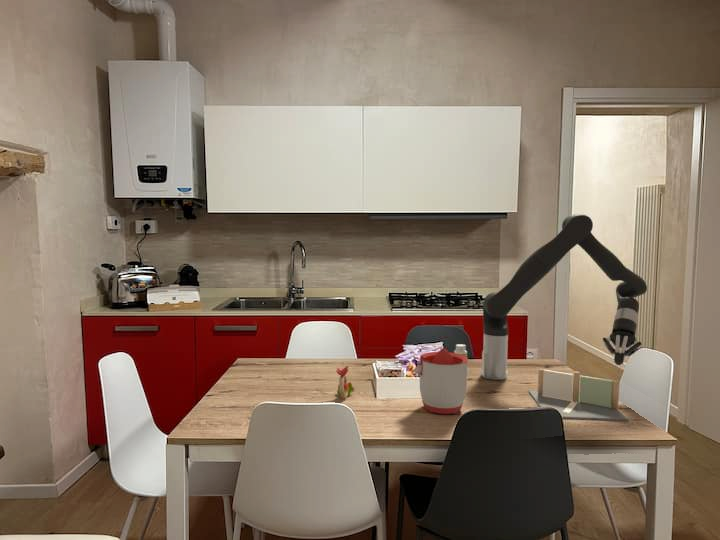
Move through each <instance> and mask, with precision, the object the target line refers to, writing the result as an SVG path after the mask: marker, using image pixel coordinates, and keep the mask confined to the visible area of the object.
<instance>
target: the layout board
mask: <svg viewBox="0 0 720 540" xmlns="http://www.w3.org/2000/svg"><path fill="white" fill-rule="evenodd" d="M528 393H529V395H530V396H531V398H534V399H535V400H534V399H533V400H534V401H535V402H537V403H538V404H539V405H540V407H544V406H548V407H554V408H556V409H558V410H559V411H560V413H561V414H562V417H563V419H564V418H571V419H570V420H587V419H596V420H595V421H614V422H615V421H616V422H619V421H621V422H622V421H623V422H629V421H630V420H629V418H628V417H627V416H626V415H625V414H624V413H622V412H621V411H620V410H618V409H613V408H610V407H604V406H599V405H594V404H588V403H583V402H573V401H572V400H571V401H569V400H564V399H559V398H553V397H548V396H543V395H538V390H528ZM579 395H580V391H579ZM572 396H573V391H572ZM537 403H536V404H537ZM538 404H537V405H538ZM539 405H538V406H539ZM540 407H539V408H540Z"/></svg>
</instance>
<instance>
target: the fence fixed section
mask: <svg viewBox="0 0 720 540" xmlns="http://www.w3.org/2000/svg"><path fill="white" fill-rule="evenodd" d="M537 375H538V377H537V378H538V379H537V391H538V395H543V396H548V397H553V398H559V399H564V400H569V401H571V400H572V401H573V402H579V392H580V376H581V372H580V371H577V370H576V371H573V373H569V372H561V371H556V370H555V371H554V370H549V369H544V368H538V374H537ZM572 392H573V396H572Z"/></svg>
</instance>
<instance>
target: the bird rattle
mask: <svg viewBox="0 0 720 540" xmlns="http://www.w3.org/2000/svg"><path fill="white" fill-rule="evenodd" d="M348 368H349V366H347V365H346V366H345V367H343V368H342V369H340V368H337V369H336V373H337V374H338V376H339V381H338V385H337V391H336V394H337V396H339V397H341V399H342V400H344V401H346V399H347V397H348V396H351V393H352V392H354V391H355V387H354V386H353V383H352V382H351V381H349V382H348V380H347V376H346V375H347V373H348V372H349V369H348Z"/></svg>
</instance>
